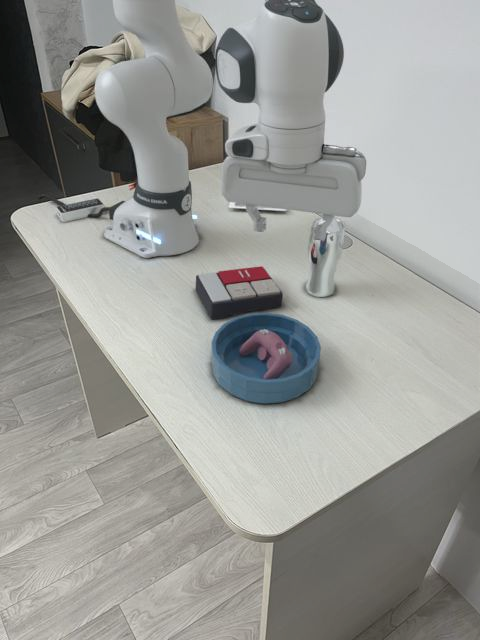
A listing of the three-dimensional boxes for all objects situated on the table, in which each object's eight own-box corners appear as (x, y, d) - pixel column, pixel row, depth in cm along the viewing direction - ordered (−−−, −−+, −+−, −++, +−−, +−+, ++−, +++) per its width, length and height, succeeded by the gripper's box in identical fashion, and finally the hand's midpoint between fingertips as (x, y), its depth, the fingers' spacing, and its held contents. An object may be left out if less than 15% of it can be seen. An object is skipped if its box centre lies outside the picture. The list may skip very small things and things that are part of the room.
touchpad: (231, 198, 147) (231, 191, 145) (286, 201, 147) (286, 194, 145) (228, 211, 141) (228, 203, 139) (286, 214, 141) (286, 207, 139)
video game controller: (282, 387, 93) (301, 354, 90) (263, 386, 90) (281, 352, 87) (254, 354, 99) (271, 322, 96) (235, 352, 96) (251, 319, 93)
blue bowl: (191, 379, 91) (190, 356, 88) (245, 323, 104) (245, 301, 101) (289, 419, 85) (291, 397, 82) (333, 354, 98) (336, 333, 95)
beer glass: (334, 300, 111) (344, 235, 102) (301, 295, 112) (308, 230, 103) (337, 282, 117) (347, 218, 107) (305, 278, 117) (313, 214, 108)
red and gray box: (284, 291, 107) (211, 301, 101) (281, 309, 109) (210, 319, 104) (264, 263, 114) (195, 271, 109) (262, 281, 117) (195, 289, 112)
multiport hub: (105, 212, 137) (104, 204, 136) (62, 222, 132) (60, 213, 131) (99, 206, 140) (98, 197, 138) (57, 215, 135) (55, 206, 134)
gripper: (372, 141, 73) (361, 234, 81) (230, 128, 78) (235, 216, 87) (363, 157, 68) (353, 254, 77) (213, 142, 73) (220, 234, 82)
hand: (289, 234), depth 82 cm, fingers open, 8 cm apart
